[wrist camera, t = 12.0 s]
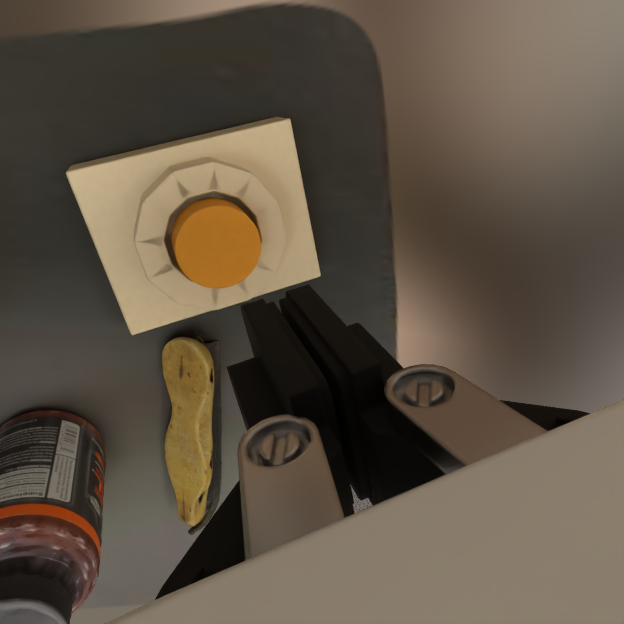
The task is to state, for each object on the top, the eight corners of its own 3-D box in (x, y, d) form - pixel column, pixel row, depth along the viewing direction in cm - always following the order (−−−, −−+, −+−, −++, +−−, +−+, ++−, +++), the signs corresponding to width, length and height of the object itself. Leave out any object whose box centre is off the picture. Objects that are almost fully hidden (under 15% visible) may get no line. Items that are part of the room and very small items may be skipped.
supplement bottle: (106, 488, 30) (96, 684, 20) (-11, 500, 28) (-87, 724, 18) (107, 401, 28) (96, 571, 18) (-20, 406, 26) (-110, 602, 16)
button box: (308, 264, 28) (333, 288, 25) (131, 318, 26) (131, 352, 23) (277, 116, 25) (302, 120, 21) (70, 165, 23) (59, 178, 19)
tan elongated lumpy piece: (196, 500, 34) (163, 527, 31) (198, 315, 29) (159, 330, 27) (235, 522, 32) (204, 552, 30) (244, 331, 28) (208, 348, 25)
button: (260, 263, 24) (269, 275, 22) (185, 285, 23) (189, 299, 21) (241, 188, 22) (250, 195, 21) (160, 209, 21) (163, 218, 20)
